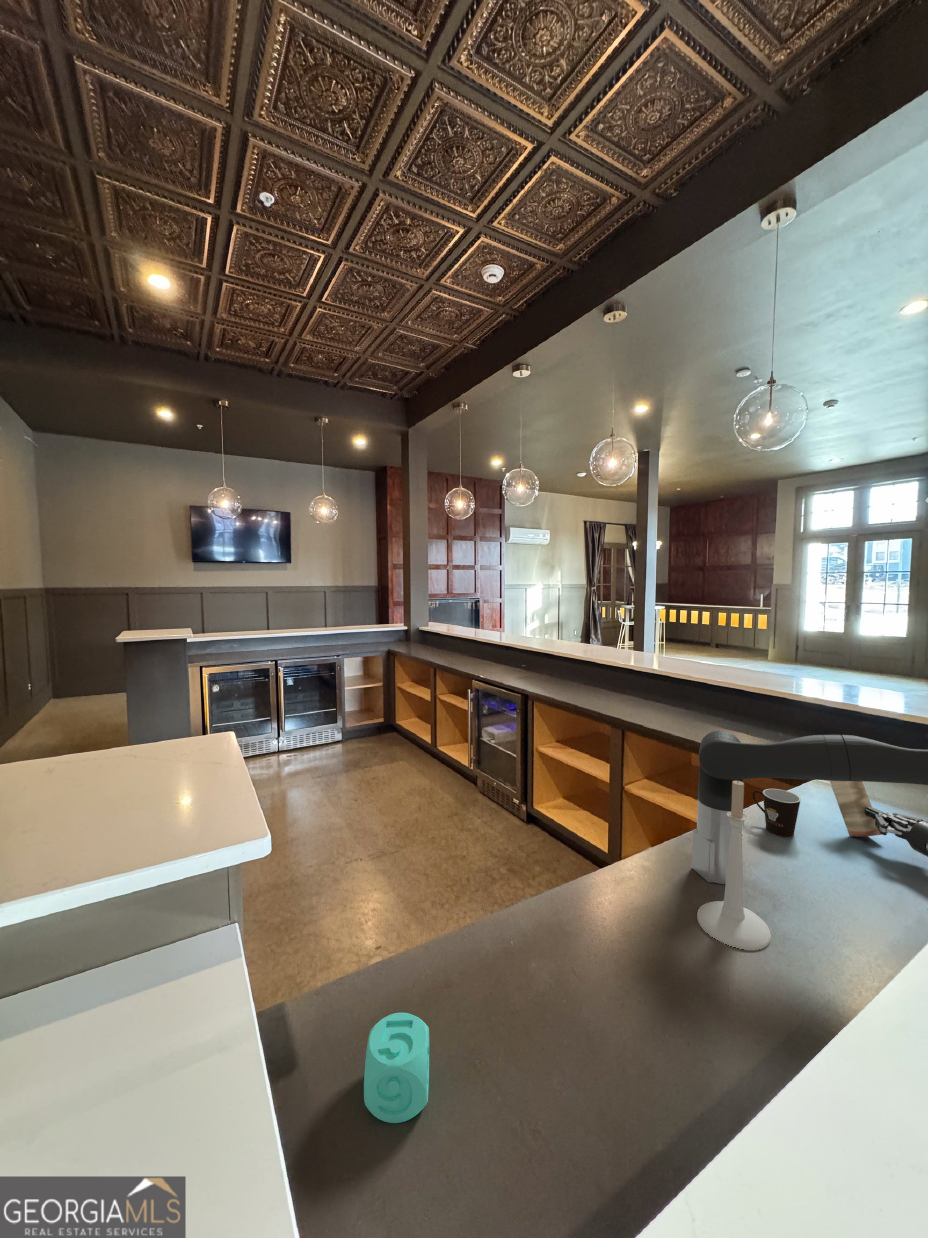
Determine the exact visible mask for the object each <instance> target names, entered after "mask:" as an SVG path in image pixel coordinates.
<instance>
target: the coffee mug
mask: <svg viewBox="0 0 928 1238" xmlns="http://www.w3.org/2000/svg"><path fill="white" fill-rule="evenodd" d="M757 793H758V794H761V796H762V799H763V807H762V806H761V804H759V802H758V801H757V799H756V794H757ZM752 799H753V801H754V803H755V804H756V806H757V807H758V808H759V809H760V810H761V811H762V812H763V813H764V819H765V820H764V821H765V828H766V830H767V832H769V833H770V834H772V835H775V836H778V837H783V838H792V837H794V835H795V830H796V824H797V820H798V815H799V809H800V805H801V797H800V796H799V795H797V794H796V793H794V792H791V791H788V790H785V789H779V788H767V789H766V788H765V789H764V790H763V791H761V790H754V791H753V792H752Z"/></svg>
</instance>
